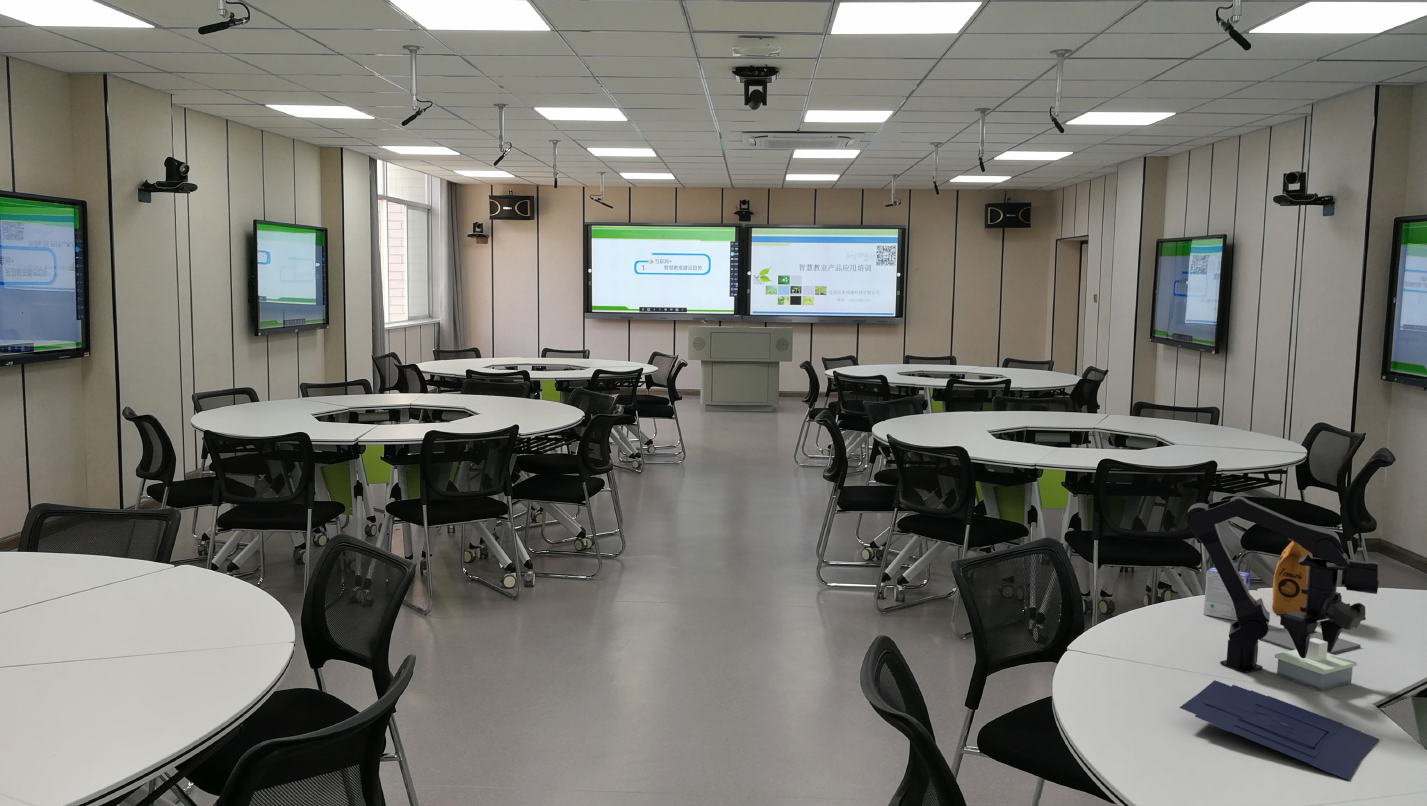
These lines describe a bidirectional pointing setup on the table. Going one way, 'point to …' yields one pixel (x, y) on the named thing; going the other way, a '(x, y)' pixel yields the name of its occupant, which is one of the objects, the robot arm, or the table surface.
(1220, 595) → the ink cartridge box
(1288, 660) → the lid
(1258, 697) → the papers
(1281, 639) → the rubber mat
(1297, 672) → the storage box
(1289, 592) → the coffee package
